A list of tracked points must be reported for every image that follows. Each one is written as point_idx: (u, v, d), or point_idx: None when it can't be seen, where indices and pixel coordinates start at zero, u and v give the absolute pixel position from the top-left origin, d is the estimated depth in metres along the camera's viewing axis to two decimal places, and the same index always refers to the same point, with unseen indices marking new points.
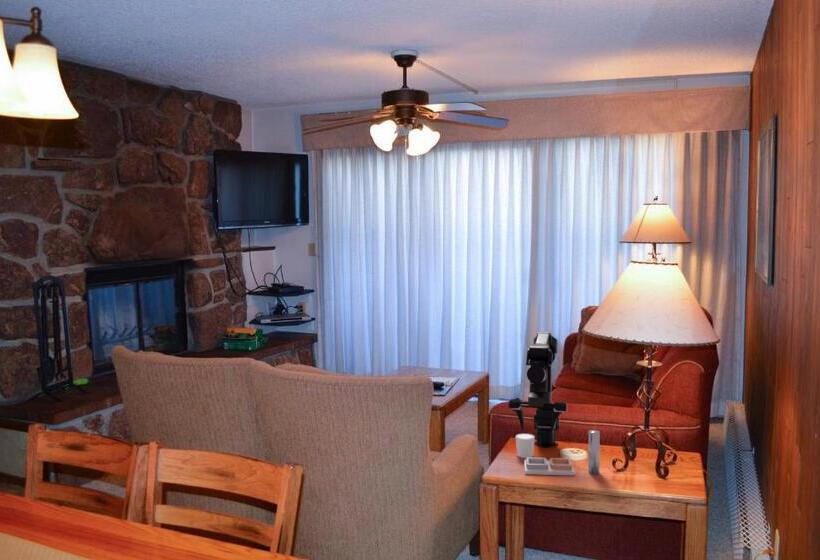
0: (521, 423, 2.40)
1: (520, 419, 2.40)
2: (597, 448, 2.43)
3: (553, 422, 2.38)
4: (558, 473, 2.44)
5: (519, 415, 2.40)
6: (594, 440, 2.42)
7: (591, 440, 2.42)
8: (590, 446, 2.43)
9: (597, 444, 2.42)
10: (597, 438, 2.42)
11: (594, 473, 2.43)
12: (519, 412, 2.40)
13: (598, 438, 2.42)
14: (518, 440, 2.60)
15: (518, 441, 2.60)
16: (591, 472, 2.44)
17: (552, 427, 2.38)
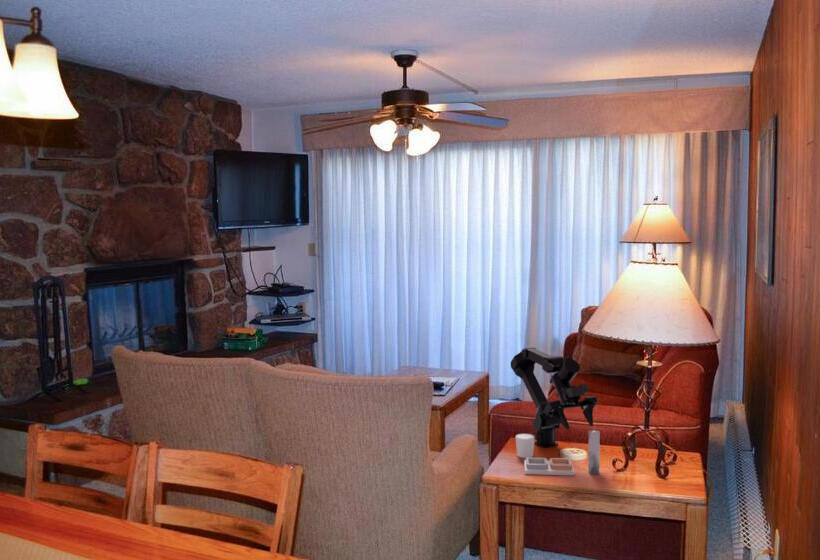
0: (565, 421, 2.50)
1: (563, 417, 2.50)
2: (597, 448, 2.43)
3: (591, 415, 2.53)
4: (558, 473, 2.44)
5: (562, 414, 2.51)
6: (594, 440, 2.42)
7: (591, 440, 2.42)
8: (590, 446, 2.43)
9: (597, 444, 2.42)
10: (597, 438, 2.42)
11: (594, 473, 2.43)
12: (562, 410, 2.51)
13: (598, 438, 2.42)
14: (518, 440, 2.60)
15: (518, 441, 2.60)
16: (591, 472, 2.44)
17: (591, 419, 2.53)
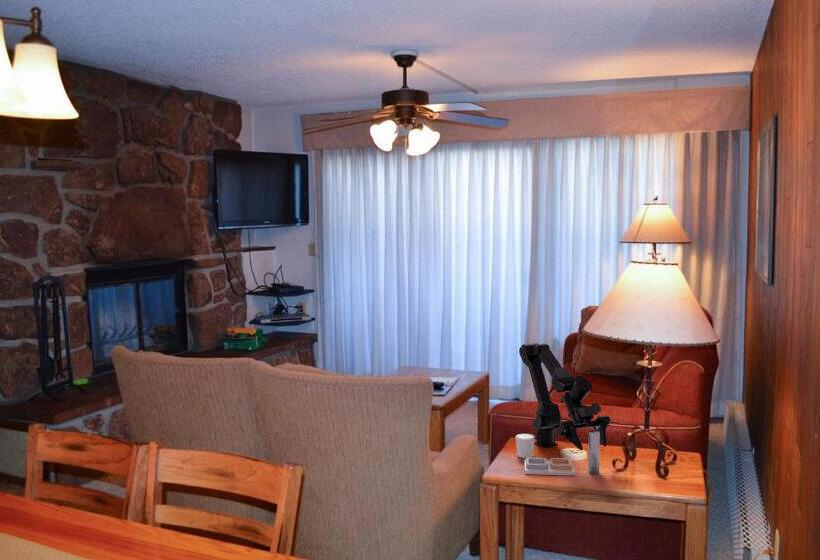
0: (579, 441, 2.43)
1: (576, 438, 2.44)
2: (597, 448, 2.43)
3: (604, 435, 2.47)
4: (558, 473, 2.44)
5: (574, 434, 2.44)
6: (594, 440, 2.42)
7: (591, 440, 2.42)
8: (590, 446, 2.43)
9: (597, 444, 2.42)
10: (597, 438, 2.42)
11: (594, 473, 2.43)
12: (574, 430, 2.44)
13: (598, 438, 2.42)
14: (518, 440, 2.60)
15: (518, 441, 2.60)
16: (591, 472, 2.44)
17: (605, 439, 2.46)
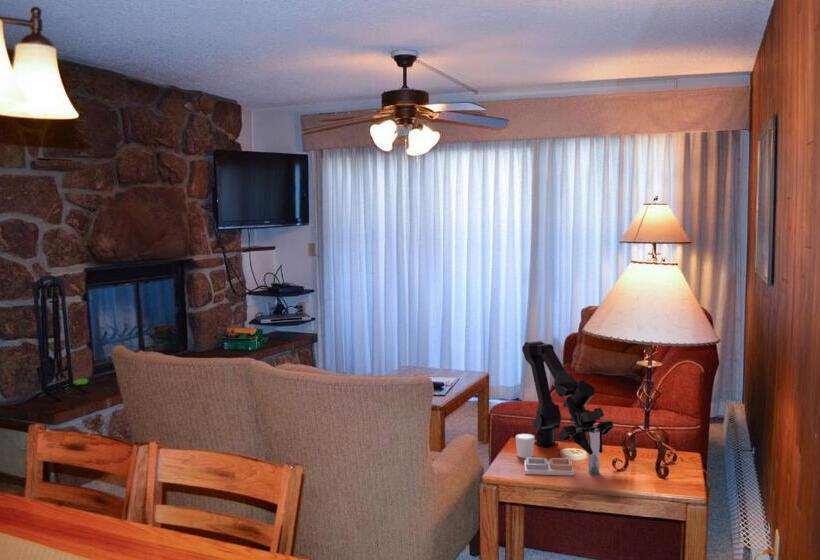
0: (588, 445, 2.43)
1: (586, 442, 2.43)
2: (597, 448, 2.43)
3: (600, 441, 2.45)
4: (558, 473, 2.44)
5: (584, 438, 2.44)
6: (594, 440, 2.42)
7: (591, 440, 2.42)
8: (590, 446, 2.43)
9: (597, 444, 2.42)
10: (597, 438, 2.42)
11: (594, 473, 2.43)
12: (584, 434, 2.44)
13: (598, 438, 2.42)
14: (518, 440, 2.60)
15: (518, 441, 2.60)
16: (591, 472, 2.44)
17: (601, 446, 2.44)
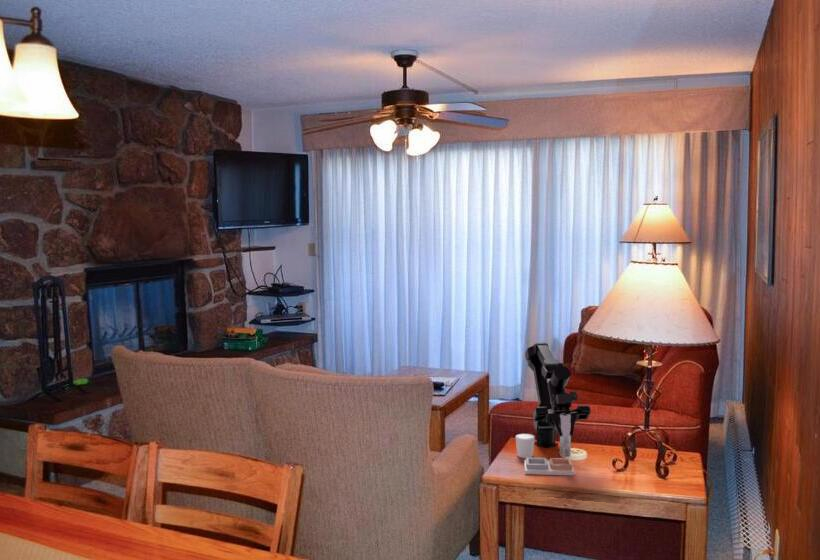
0: (558, 427, 2.46)
1: (556, 424, 2.46)
2: (567, 431, 2.45)
3: (572, 424, 2.47)
4: (558, 473, 2.44)
5: (555, 420, 2.47)
6: (564, 423, 2.44)
7: (561, 422, 2.45)
8: (560, 428, 2.46)
9: (567, 427, 2.44)
10: (567, 421, 2.44)
11: (563, 455, 2.46)
12: (555, 416, 2.47)
13: (568, 421, 2.44)
14: (518, 440, 2.60)
15: (518, 441, 2.60)
16: (561, 454, 2.46)
17: (572, 429, 2.46)
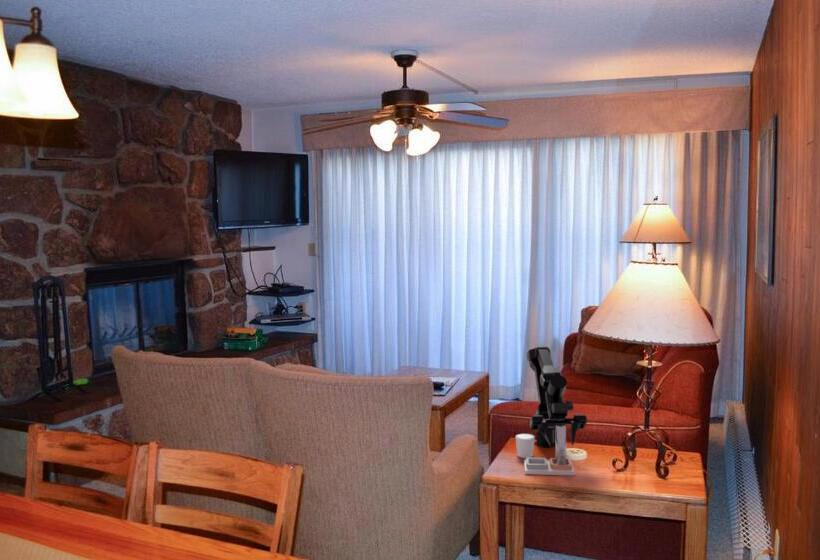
0: (548, 436, 2.47)
1: (547, 433, 2.47)
2: (562, 442, 2.46)
3: (573, 433, 2.47)
4: (558, 473, 2.44)
5: (545, 429, 2.48)
6: (559, 434, 2.46)
7: (556, 433, 2.46)
8: (556, 439, 2.47)
9: (562, 438, 2.45)
10: (562, 432, 2.45)
11: None
12: (545, 425, 2.48)
13: (563, 432, 2.45)
14: (518, 440, 2.60)
15: (518, 441, 2.60)
16: None
17: (573, 438, 2.47)
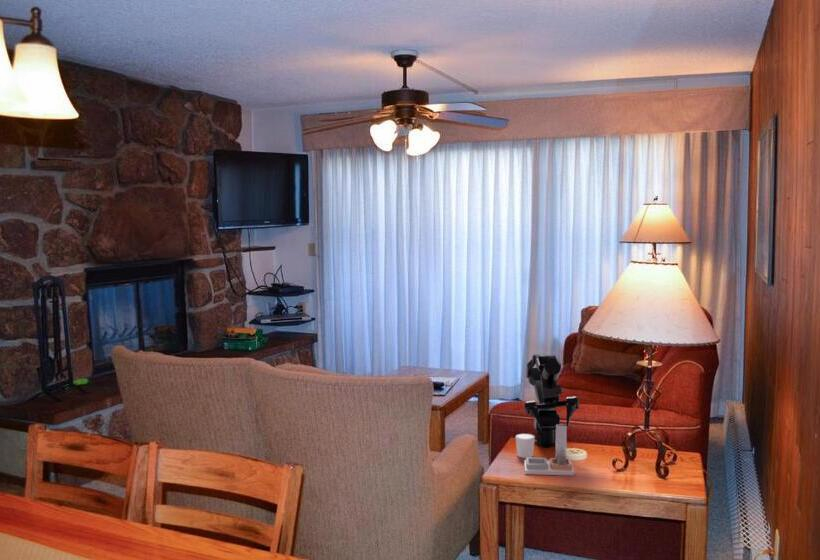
0: (538, 421, 2.57)
1: (537, 418, 2.58)
2: (562, 442, 2.46)
3: (568, 415, 2.55)
4: (558, 473, 2.44)
5: (535, 414, 2.58)
6: (559, 434, 2.45)
7: (557, 433, 2.46)
8: (556, 439, 2.47)
9: (562, 438, 2.45)
10: (563, 432, 2.45)
11: None
12: (535, 410, 2.58)
13: (563, 432, 2.45)
14: (518, 440, 2.60)
15: (518, 441, 2.60)
16: None
17: (567, 420, 2.55)
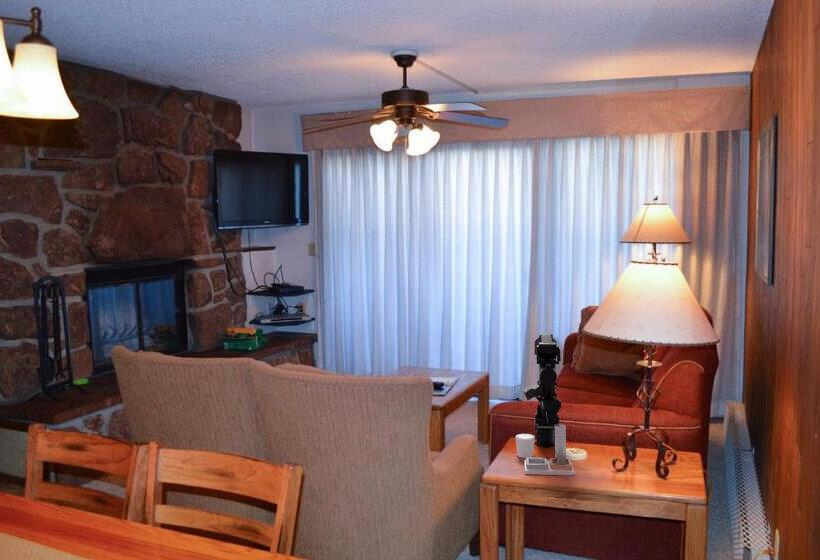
0: (541, 410, 2.64)
1: (541, 406, 2.64)
2: (561, 442, 2.46)
3: (546, 416, 2.54)
4: (558, 473, 2.44)
5: (540, 402, 2.64)
6: (558, 434, 2.46)
7: (556, 433, 2.46)
8: (555, 439, 2.47)
9: (561, 438, 2.46)
10: (562, 432, 2.45)
11: None
12: (538, 400, 2.64)
13: (562, 432, 2.45)
14: (518, 440, 2.60)
15: (518, 441, 2.60)
16: None
17: (547, 420, 2.54)
